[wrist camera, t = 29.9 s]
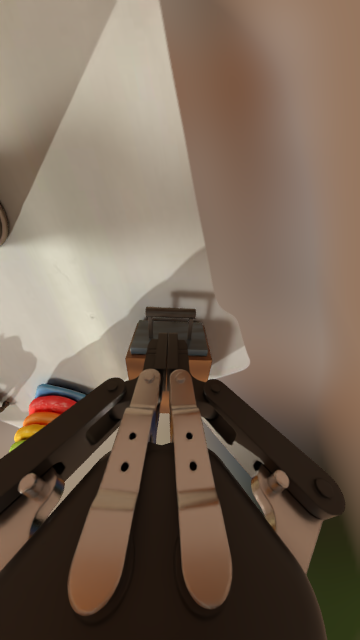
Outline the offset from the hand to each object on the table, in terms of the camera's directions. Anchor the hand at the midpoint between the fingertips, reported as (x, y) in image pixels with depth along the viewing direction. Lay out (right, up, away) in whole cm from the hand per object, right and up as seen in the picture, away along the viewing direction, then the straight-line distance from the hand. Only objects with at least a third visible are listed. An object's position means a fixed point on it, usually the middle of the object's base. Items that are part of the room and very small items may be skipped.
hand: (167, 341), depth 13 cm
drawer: (-1, -2, +19) cm, 19 cm away
